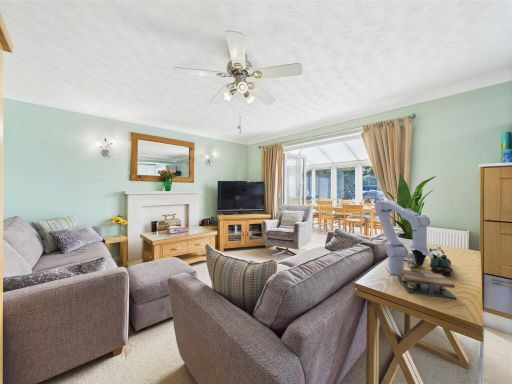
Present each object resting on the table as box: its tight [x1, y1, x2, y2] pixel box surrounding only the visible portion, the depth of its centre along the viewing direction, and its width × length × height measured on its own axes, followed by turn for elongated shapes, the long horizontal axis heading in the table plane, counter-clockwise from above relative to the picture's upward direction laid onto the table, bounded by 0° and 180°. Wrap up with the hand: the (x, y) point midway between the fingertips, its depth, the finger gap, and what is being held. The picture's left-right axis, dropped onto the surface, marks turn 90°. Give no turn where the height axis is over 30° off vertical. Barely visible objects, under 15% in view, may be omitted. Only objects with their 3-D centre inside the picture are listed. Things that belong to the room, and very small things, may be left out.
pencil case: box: [428, 246, 452, 270], centre depth 130 cm, size 22×8×10 cm, turn 146°
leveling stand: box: [397, 276, 457, 300], centre depth 100 cm, size 15×18×6 cm
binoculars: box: [429, 254, 453, 277], centre depth 116 cm, size 9×11×10 cm
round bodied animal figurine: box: [406, 250, 420, 269], centre depth 129 cm, size 7×12×8 cm, turn 131°
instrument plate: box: [399, 268, 456, 289], centre depth 100 cm, size 12×18×3 cm, turn 71°
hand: (419, 264), depth 104 cm, fingers closed
